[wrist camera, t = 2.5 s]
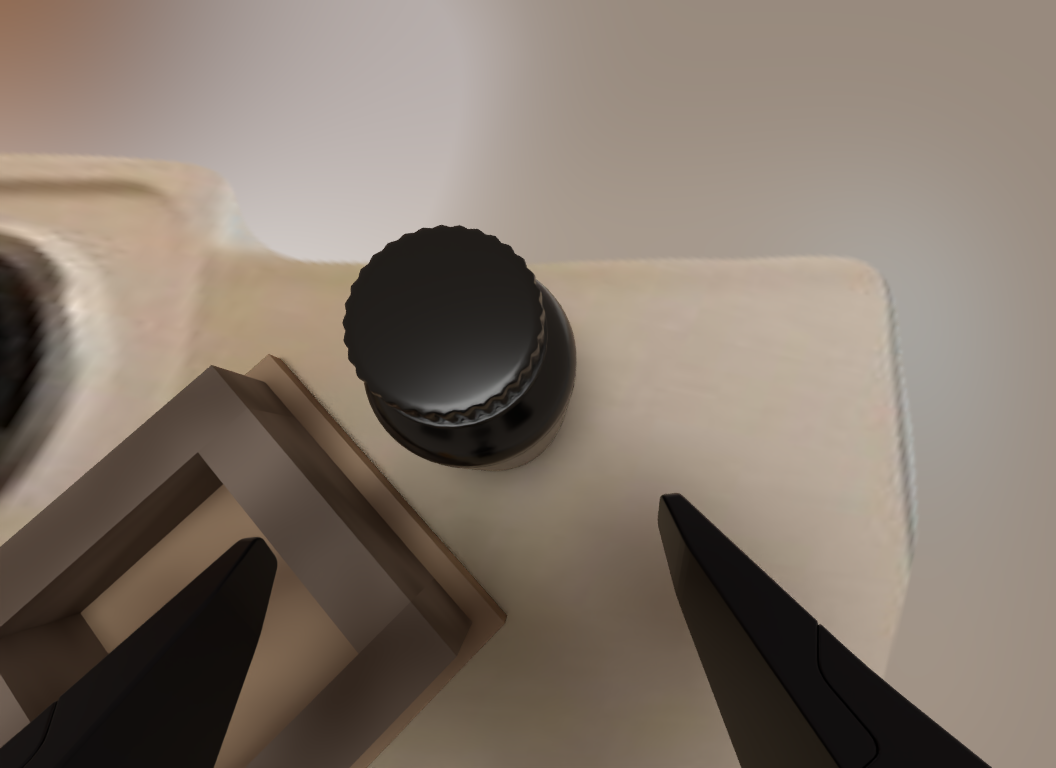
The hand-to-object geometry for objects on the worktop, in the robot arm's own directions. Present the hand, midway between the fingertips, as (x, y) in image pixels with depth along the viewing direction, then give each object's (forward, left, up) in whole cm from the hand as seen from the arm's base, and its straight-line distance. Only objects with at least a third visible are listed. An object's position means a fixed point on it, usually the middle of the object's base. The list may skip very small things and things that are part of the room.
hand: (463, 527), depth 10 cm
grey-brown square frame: (+5, +12, -11) cm, 17 cm away
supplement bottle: (+4, -3, -11) cm, 12 cm away
